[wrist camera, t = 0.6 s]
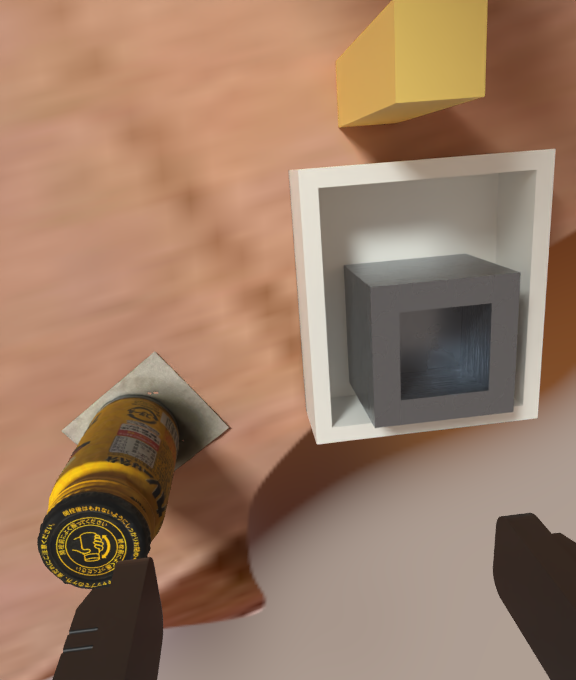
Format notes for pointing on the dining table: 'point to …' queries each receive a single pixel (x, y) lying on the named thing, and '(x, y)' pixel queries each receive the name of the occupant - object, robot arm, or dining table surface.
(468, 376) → the socket
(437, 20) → the plug
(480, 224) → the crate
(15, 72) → the dining table surface
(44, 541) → the condiment
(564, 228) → the dining table surface
